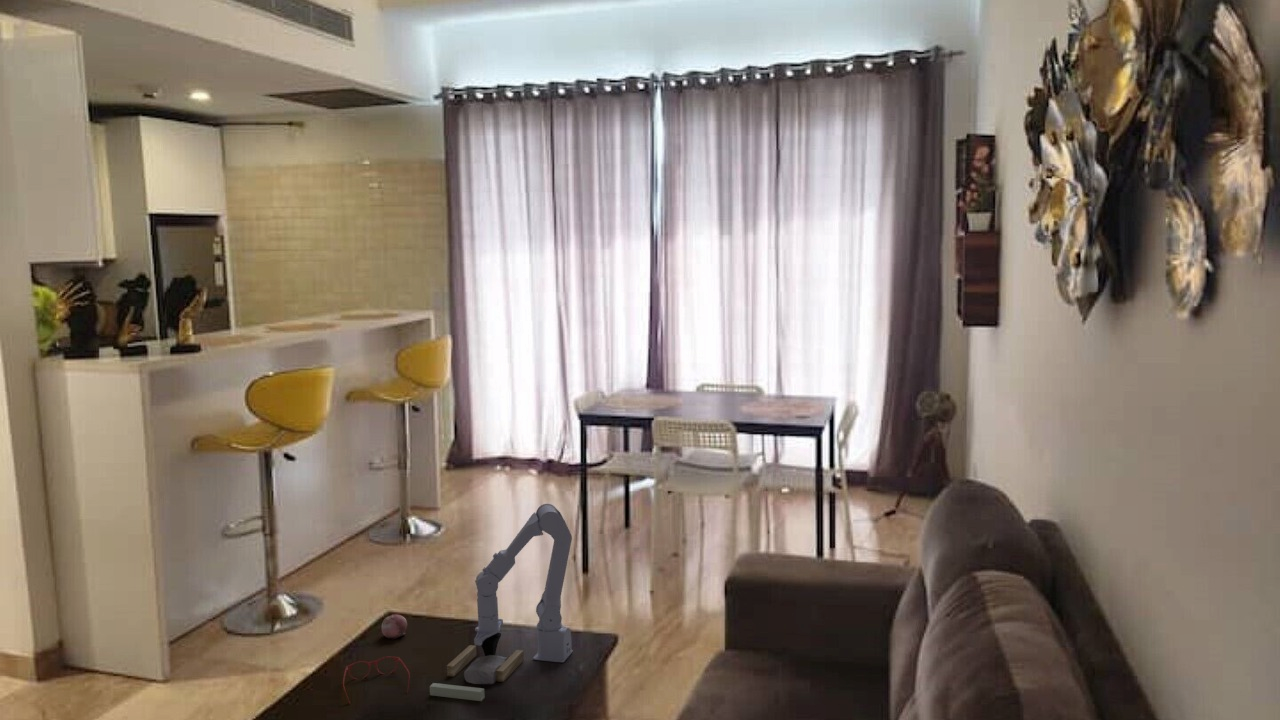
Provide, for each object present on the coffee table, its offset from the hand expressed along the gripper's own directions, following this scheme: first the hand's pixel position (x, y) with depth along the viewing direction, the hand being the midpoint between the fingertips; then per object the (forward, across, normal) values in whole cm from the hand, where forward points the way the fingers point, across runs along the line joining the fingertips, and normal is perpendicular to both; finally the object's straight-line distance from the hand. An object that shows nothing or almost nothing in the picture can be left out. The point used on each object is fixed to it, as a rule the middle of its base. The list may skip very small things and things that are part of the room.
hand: (490, 659), depth 266 cm
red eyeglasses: (+2, +20, -25) cm, 32 cm away
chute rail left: (+1, +3, -7) cm, 8 cm away
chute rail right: (+1, +3, +8) cm, 8 cm away
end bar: (+1, +20, 0) cm, 20 cm away
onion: (+2, -11, -38) cm, 40 cm away
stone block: (+2, +7, +2) cm, 7 cm away
